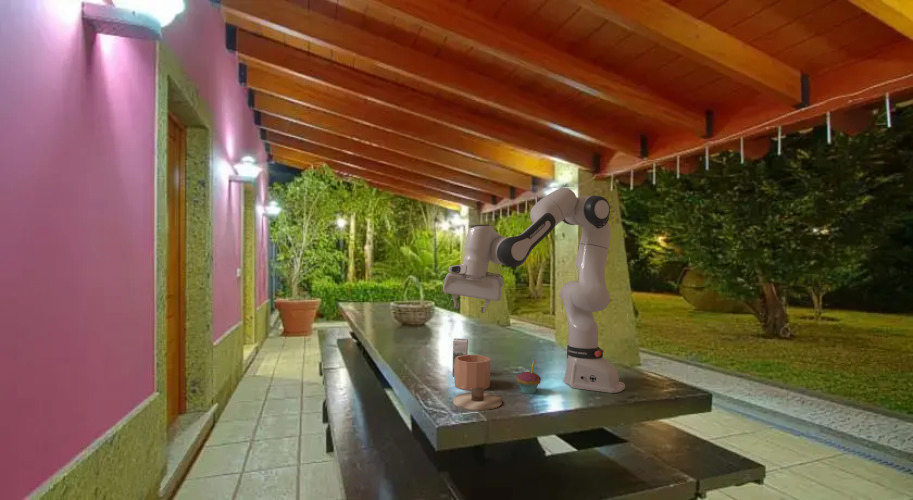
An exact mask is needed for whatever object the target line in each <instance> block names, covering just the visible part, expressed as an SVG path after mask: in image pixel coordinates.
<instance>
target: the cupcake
mask: <svg viewBox="0 0 913 500" xmlns="http://www.w3.org/2000/svg"><path fill="white" fill-rule="evenodd" d="M535 360H536V359H535V358H534V359H533V361H532V364H531V371H523V372H520V373H519V374H517V376H516V382H517V383H518V384H519V386H520V389H521V392H522V393H524V394H528V395H530V394H531V395H532V394H535V393H536V391H537V388H538V385H540V384H541V379H542V377H541V376H539V374H537V373H535V372H534V369H535V363H536V361H535Z"/></svg>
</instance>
